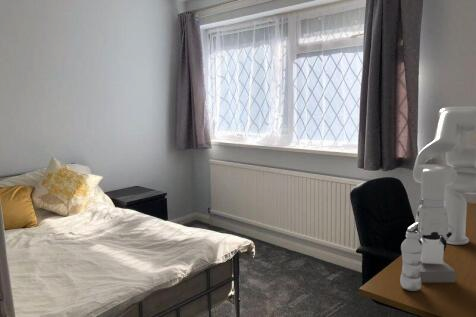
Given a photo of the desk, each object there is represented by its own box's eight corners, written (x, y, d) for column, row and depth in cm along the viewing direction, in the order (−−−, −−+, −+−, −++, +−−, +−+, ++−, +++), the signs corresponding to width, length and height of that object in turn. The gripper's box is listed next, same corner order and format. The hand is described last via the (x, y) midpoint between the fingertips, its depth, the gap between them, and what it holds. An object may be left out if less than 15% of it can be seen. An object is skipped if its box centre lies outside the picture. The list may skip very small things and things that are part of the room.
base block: (405, 266, 148) (405, 256, 148) (437, 266, 148) (438, 256, 147) (419, 282, 135) (420, 271, 135) (455, 282, 135) (455, 271, 134)
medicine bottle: (443, 264, 136) (445, 231, 135) (421, 263, 138) (423, 231, 136) (437, 256, 143) (438, 225, 142) (416, 255, 145) (418, 224, 143)
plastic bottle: (412, 295, 127) (414, 236, 124) (395, 287, 133) (397, 231, 130) (425, 290, 130) (427, 233, 127) (408, 282, 136) (410, 227, 133)
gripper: (411, 205, 134) (409, 254, 137) (462, 205, 133) (460, 253, 136) (403, 200, 142) (401, 246, 144) (452, 199, 141) (449, 245, 143)
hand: (430, 249), depth 140 cm, fingers closed on medicine bottle, 7 cm apart
